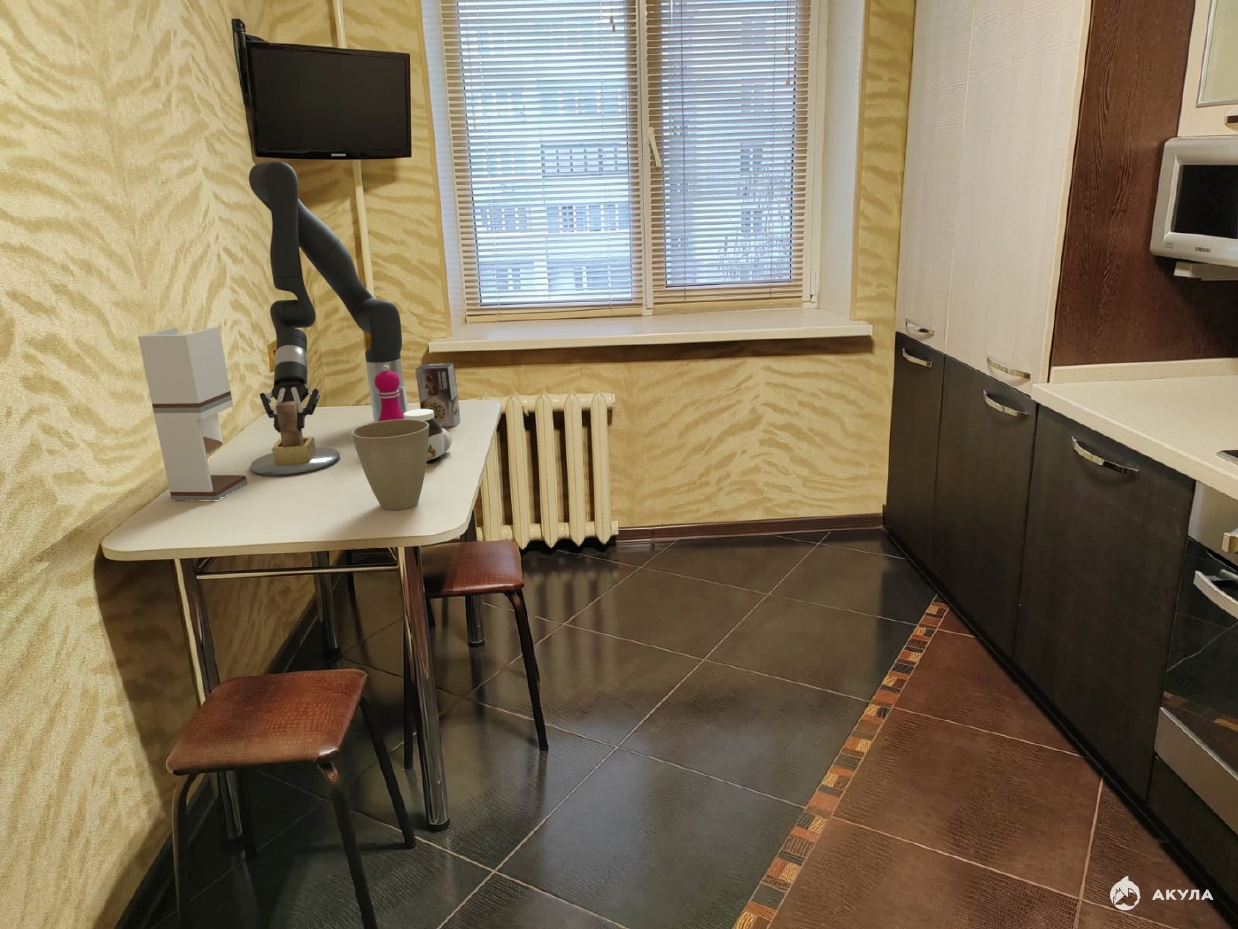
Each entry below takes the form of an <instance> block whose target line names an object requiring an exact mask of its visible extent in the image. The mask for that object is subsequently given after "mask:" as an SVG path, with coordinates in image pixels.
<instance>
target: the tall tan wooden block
mask: <svg viewBox="0 0 1238 929" xmlns="http://www.w3.org/2000/svg"><path fill="white" fill-rule="evenodd" d="M275 407H276V410H277V416H278V422H279V426H280V439H281V440H282V446H283V447H284V446H295V445H304V441H303V438H304V435H303V430H302V431H298V429H297V426H296V425H297V414H298V410H297V401H285V402H279V403H278V404H277V405H276V404H275Z"/></svg>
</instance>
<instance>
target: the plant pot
mask: <svg viewBox="0 0 1238 929" xmlns="http://www.w3.org/2000/svg"><path fill="white" fill-rule="evenodd" d="M351 436H352V440H353V443H354V446H355V450H356V453H357V456H358V459H359V462H360V465H361V468H362V470H363V473H364V475H365V477H366V480H367V482H368V485H369V486H370V489H371V491H372V492H373V495H374V496H375V498H376V500H377V502H378V504H379V506H380V507H381V508H382V509H384V510H387V511H388V510H389V511H400V510H406V509H408V508H409V509H410V508H412V507H415V506H416V505H417V504H418V503H419V500H420V496H421V493H422V489H423V485H424V482H425V481H424V480H425V476H426V475H425V474H426V470H427V469H426V468H427V464H426V463H427V455H428V440H429V424H428V423H427V422H425V421H421V420H413V419H397V420H387V421H380V422H374V421H373V422H371V423H367V424H363V425H361V426H358V427H355V428H354V429H352V430H351Z"/></svg>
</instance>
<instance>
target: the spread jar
mask: <svg viewBox="0 0 1238 929" xmlns="http://www.w3.org/2000/svg"><path fill="white" fill-rule="evenodd" d="M404 419H413V420H421V421H425V422H427V423H428V424H429V440H428V455H427V463H426V465H431V464H434V462H435V463H437V462H439V460H441V459H442V457H443V456H444V453H446V452H447V451H448V450H449V449H450V447H451V445H452V443H453V437H452V436H451V434H450V433H449V431H448V430H446V429H445V428H443V427H442V426H441V425H440V423H439V422H438V421H437V420H436V419H434V411H433V410H431V409H421V408H417V409H412V410H408V411H407V412H405V413H404ZM436 461H437V462H436Z"/></svg>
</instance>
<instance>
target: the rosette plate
mask: <svg viewBox="0 0 1238 929" xmlns="http://www.w3.org/2000/svg"><path fill="white" fill-rule="evenodd" d="M303 441H304V445H295V446H284V447H283V446H282V440H281V438H280V439H278V440H277V441H276V443H275V444H274V445H273V447H271V452H270V453H268V454H264V455H262V456H260V457H258V458H255V459H254V460H252V462H251V463H250V470H251V473H252V474H254V473H255V474H254V475H257V476H261V477H268V478H269V477H270V478H276V477H277V478H280V477H282V478H283V477H293V476H299V475H300V476H301V475H306V474H312V473H316V472H319V471H322V470H325V469H328V468H331V467H333V466H334V465H336V464H337V463H339V462H340V460H341V454H340V452H339V451H340V450H337V449H335V448H333V447H326V446H316V443H315V436H306V437H304V436H303ZM338 461H339V462H338ZM330 466H331V467H330Z"/></svg>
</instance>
